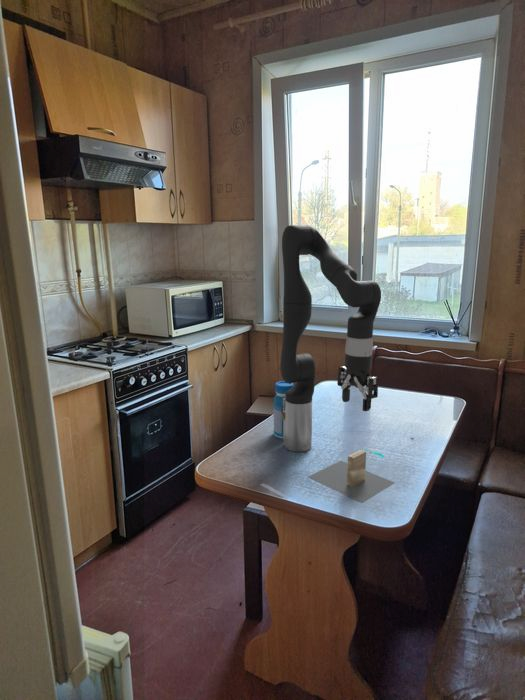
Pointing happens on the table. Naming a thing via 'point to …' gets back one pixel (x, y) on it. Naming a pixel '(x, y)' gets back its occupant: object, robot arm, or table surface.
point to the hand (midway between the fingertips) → (355, 406)
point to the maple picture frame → (356, 468)
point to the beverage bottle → (280, 406)
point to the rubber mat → (338, 481)
